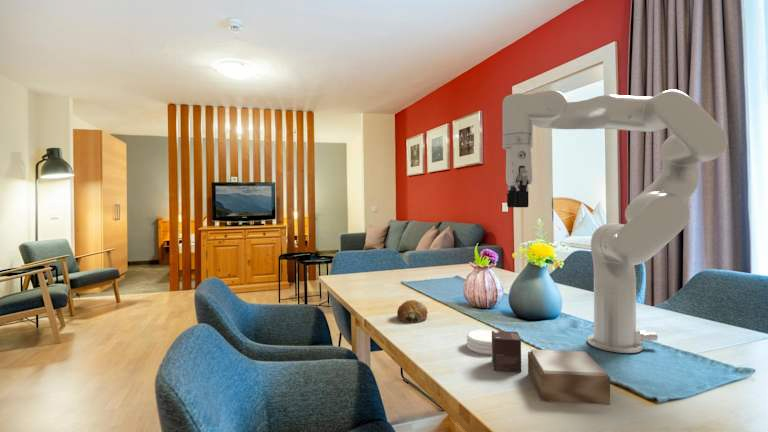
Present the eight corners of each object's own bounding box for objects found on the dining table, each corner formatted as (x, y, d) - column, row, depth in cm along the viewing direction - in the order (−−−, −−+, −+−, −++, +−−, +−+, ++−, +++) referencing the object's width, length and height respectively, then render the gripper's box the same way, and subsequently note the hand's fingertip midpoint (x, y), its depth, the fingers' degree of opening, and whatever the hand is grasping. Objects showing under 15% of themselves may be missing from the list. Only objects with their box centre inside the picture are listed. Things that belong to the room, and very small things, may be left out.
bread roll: (430, 329, 132) (434, 305, 135) (416, 323, 124) (421, 298, 127) (404, 325, 137) (408, 302, 140) (389, 319, 129) (394, 294, 132)
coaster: (459, 345, 107) (459, 332, 107) (490, 340, 111) (490, 327, 111) (482, 358, 98) (481, 343, 98) (515, 352, 101) (515, 338, 101)
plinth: (586, 376, 86) (586, 350, 86) (610, 404, 74) (610, 374, 74) (528, 374, 87) (527, 348, 87) (542, 400, 75) (541, 371, 75)
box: (521, 373, 88) (521, 339, 88) (493, 371, 90) (493, 338, 89) (518, 362, 94) (518, 331, 94) (491, 360, 95) (491, 330, 95)
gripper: (541, 136, 97) (541, 207, 98) (524, 147, 114) (523, 207, 115) (509, 137, 98) (509, 207, 98) (497, 147, 115) (496, 207, 116)
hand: (517, 207), depth 107 cm, fingers open, 9 cm apart
